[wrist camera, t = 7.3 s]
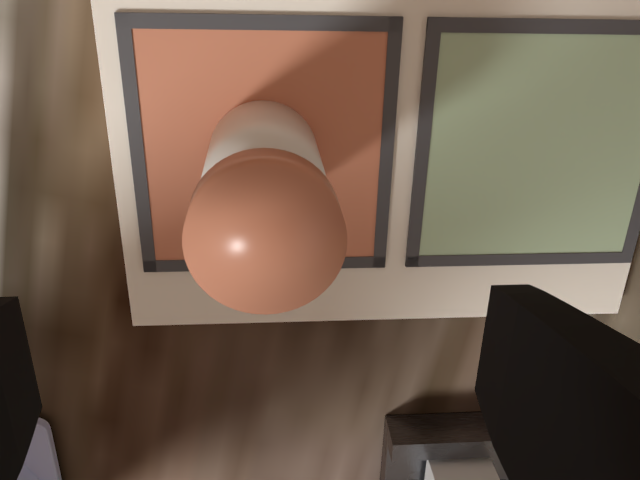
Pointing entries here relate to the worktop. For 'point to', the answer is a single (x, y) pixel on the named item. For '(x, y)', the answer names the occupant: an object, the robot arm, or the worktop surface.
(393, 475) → the slider track
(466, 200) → the picture sheet
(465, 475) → the slider
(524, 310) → the robot arm
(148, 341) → the worktop surface
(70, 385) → the worktop surface
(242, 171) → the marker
